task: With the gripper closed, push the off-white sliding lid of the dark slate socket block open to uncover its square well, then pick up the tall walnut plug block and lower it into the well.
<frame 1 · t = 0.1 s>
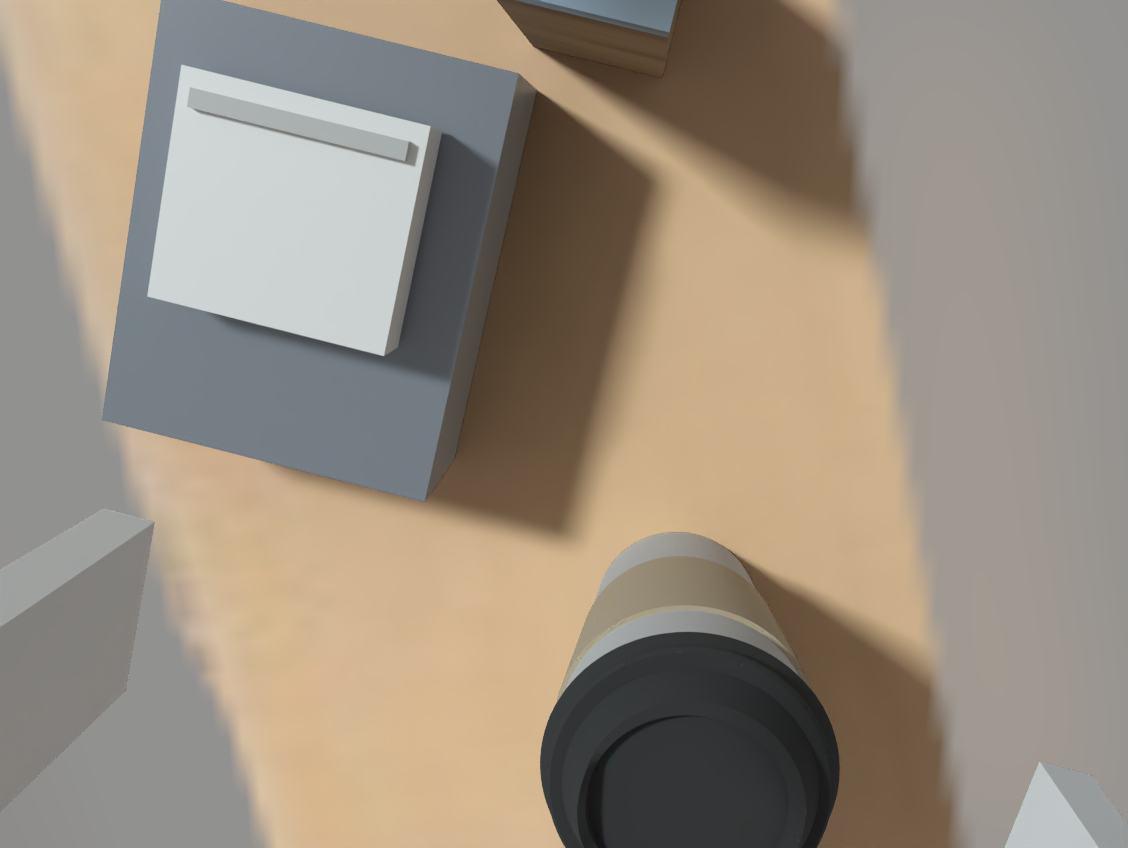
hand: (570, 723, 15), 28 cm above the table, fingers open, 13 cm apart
coffee cup: (676, 608, 45), on the table
socket block: (354, 208, 42), on the table
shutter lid: (293, 213, 34), point 7 cm above the table, slide at 0.0 cm
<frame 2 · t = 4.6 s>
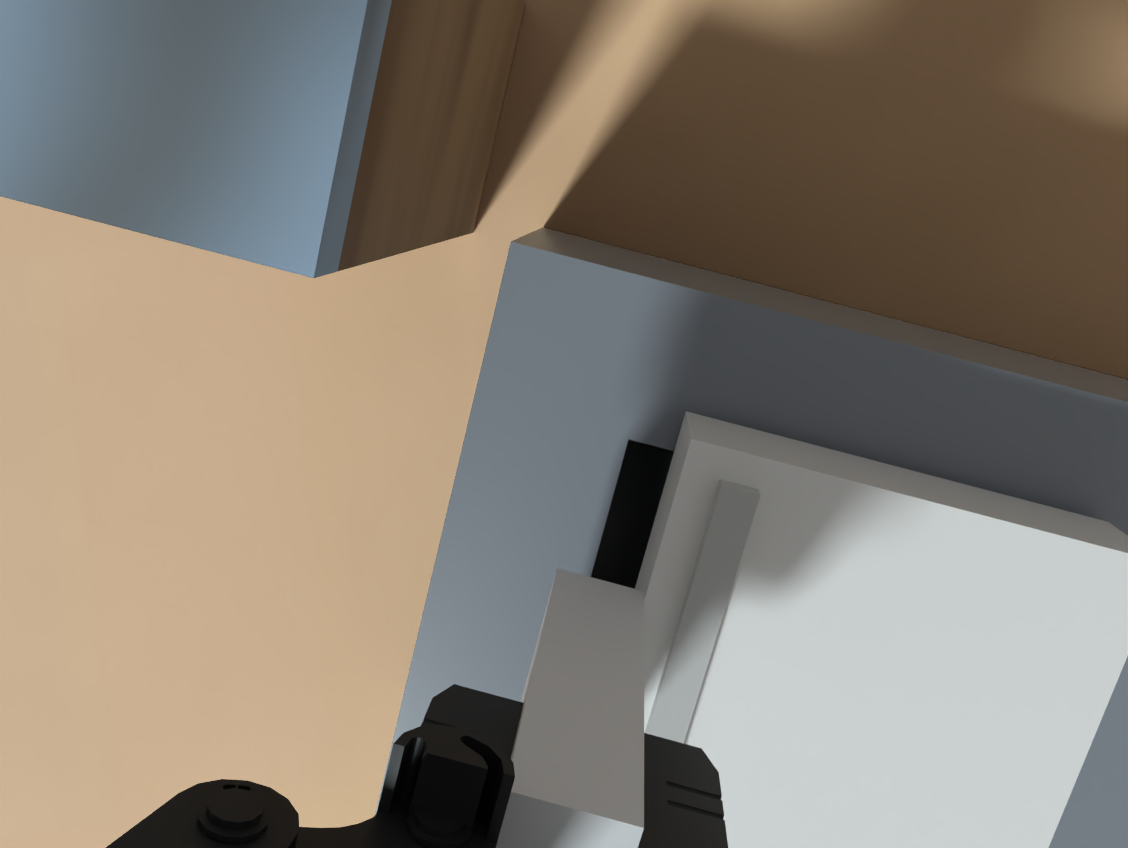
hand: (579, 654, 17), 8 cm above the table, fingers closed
plug: (389, 92, 23), on the table
socket block: (727, 540, 25), on the table
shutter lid: (837, 706, 18), point 7 cm above the table, slide at 1.3 cm, touching gripper
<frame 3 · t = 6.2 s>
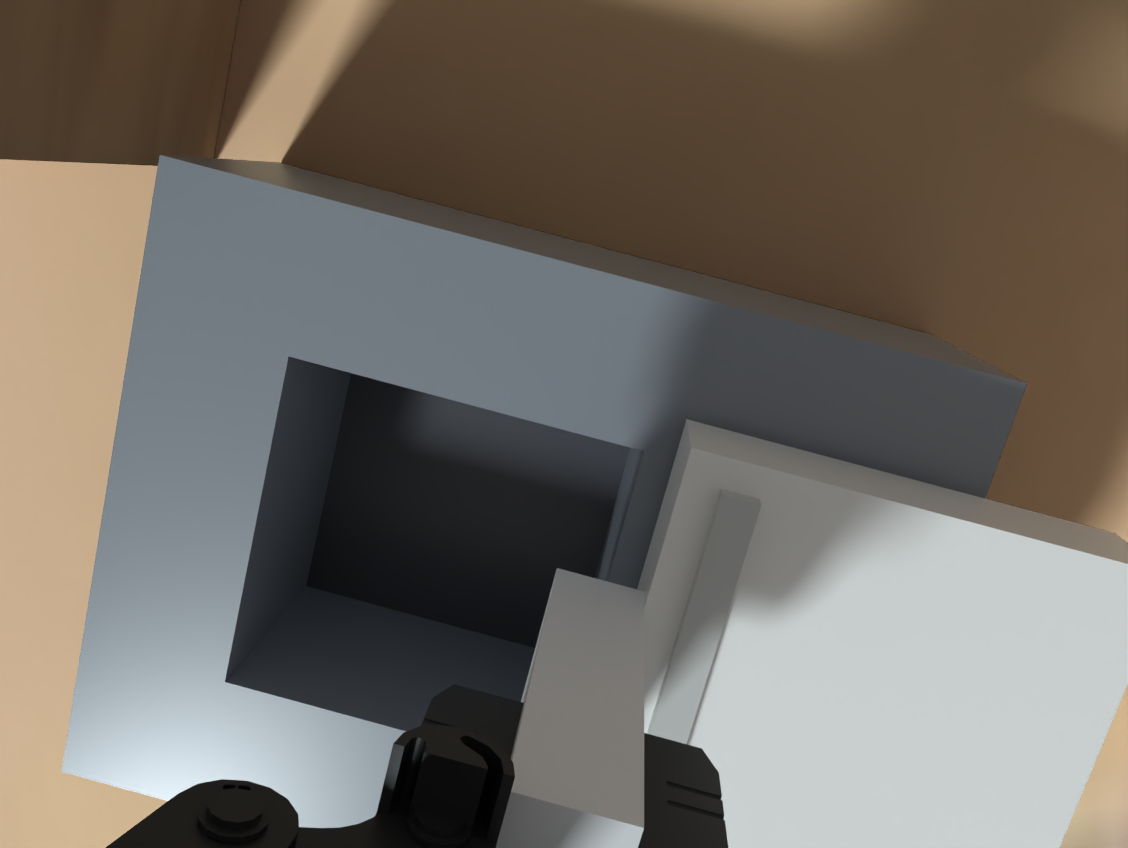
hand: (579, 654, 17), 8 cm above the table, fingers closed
plug: (122, 26, 23), on the table
socket block: (477, 481, 25), on the table
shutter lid: (838, 718, 18), point 7 cm above the table, slide at 7.4 cm, touching gripper
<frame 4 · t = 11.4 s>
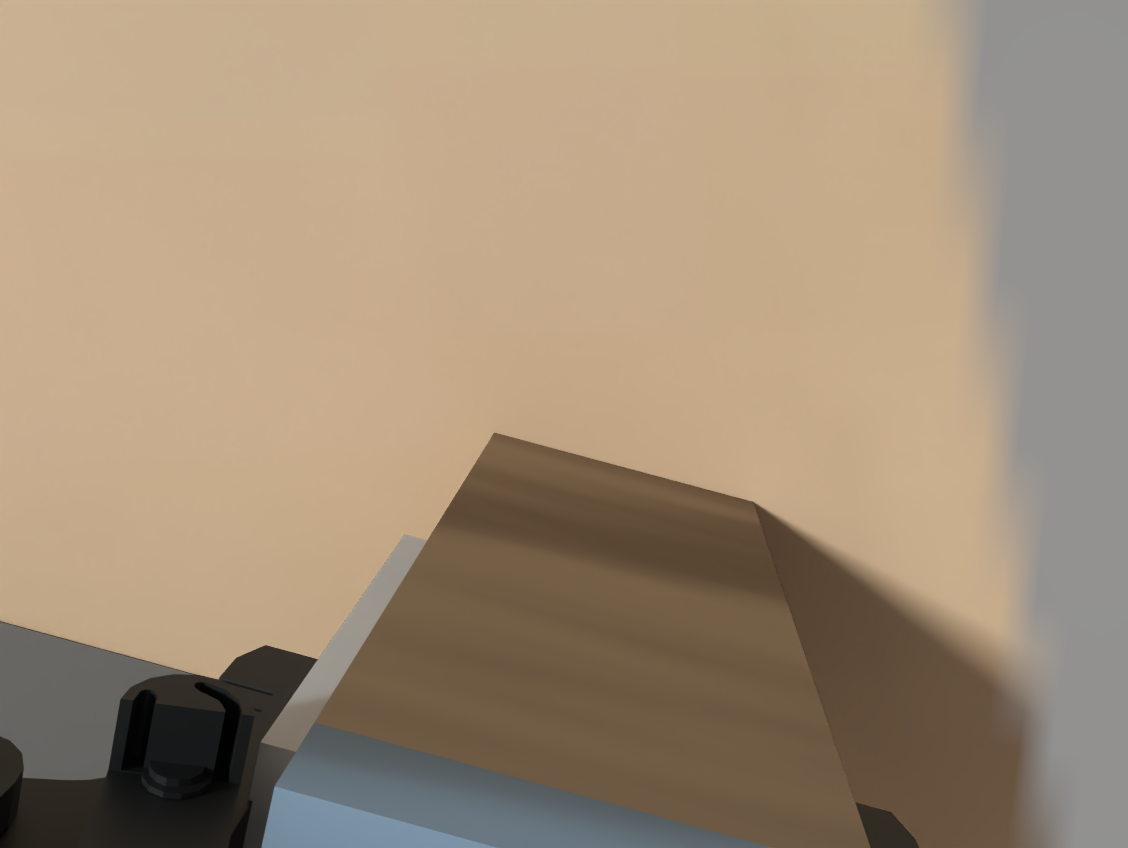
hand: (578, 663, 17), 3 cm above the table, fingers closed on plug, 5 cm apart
plug: (589, 588, 20), on the table, touching gripper
when the fingers open (7 cm above the table, at t = 15.5 s): plug drops 2 cm, resting on socket block.
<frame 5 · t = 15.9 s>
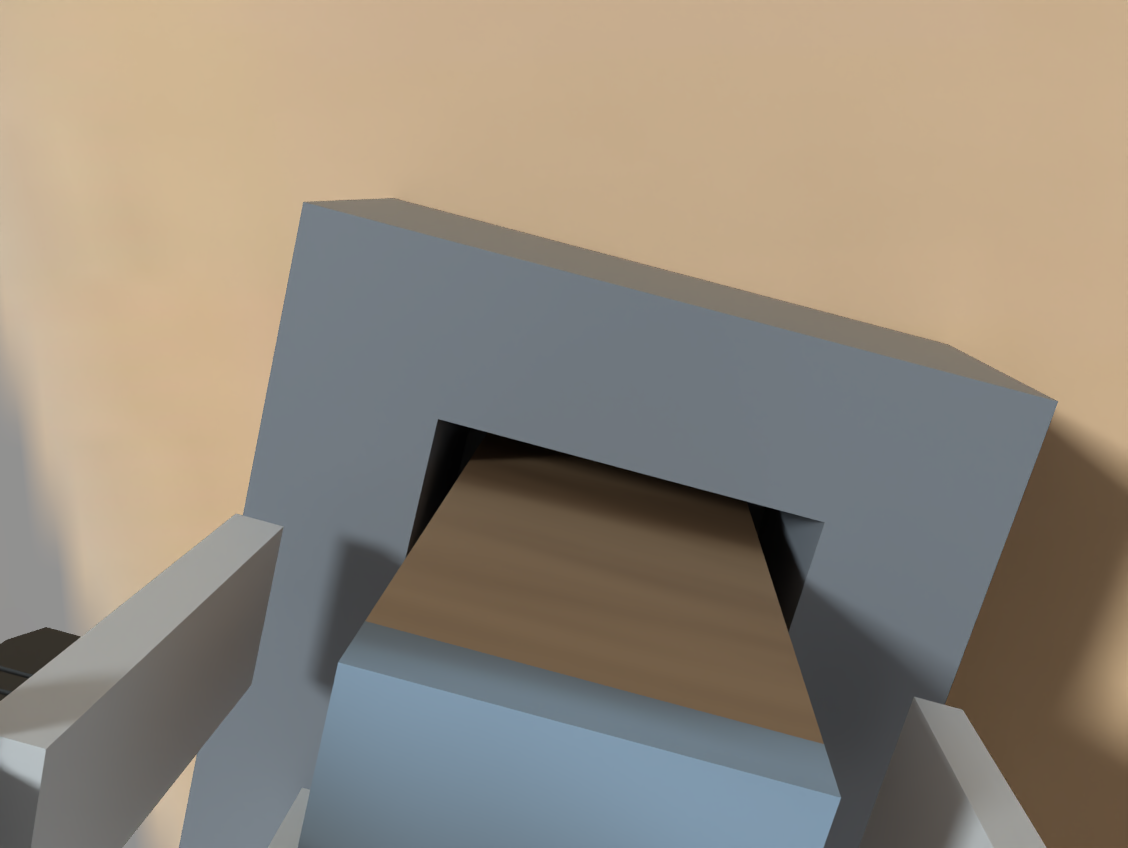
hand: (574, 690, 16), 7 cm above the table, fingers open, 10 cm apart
plug: (589, 550, 22), point 1 cm above the table, touching socket block
socket block: (596, 534, 23), on the table
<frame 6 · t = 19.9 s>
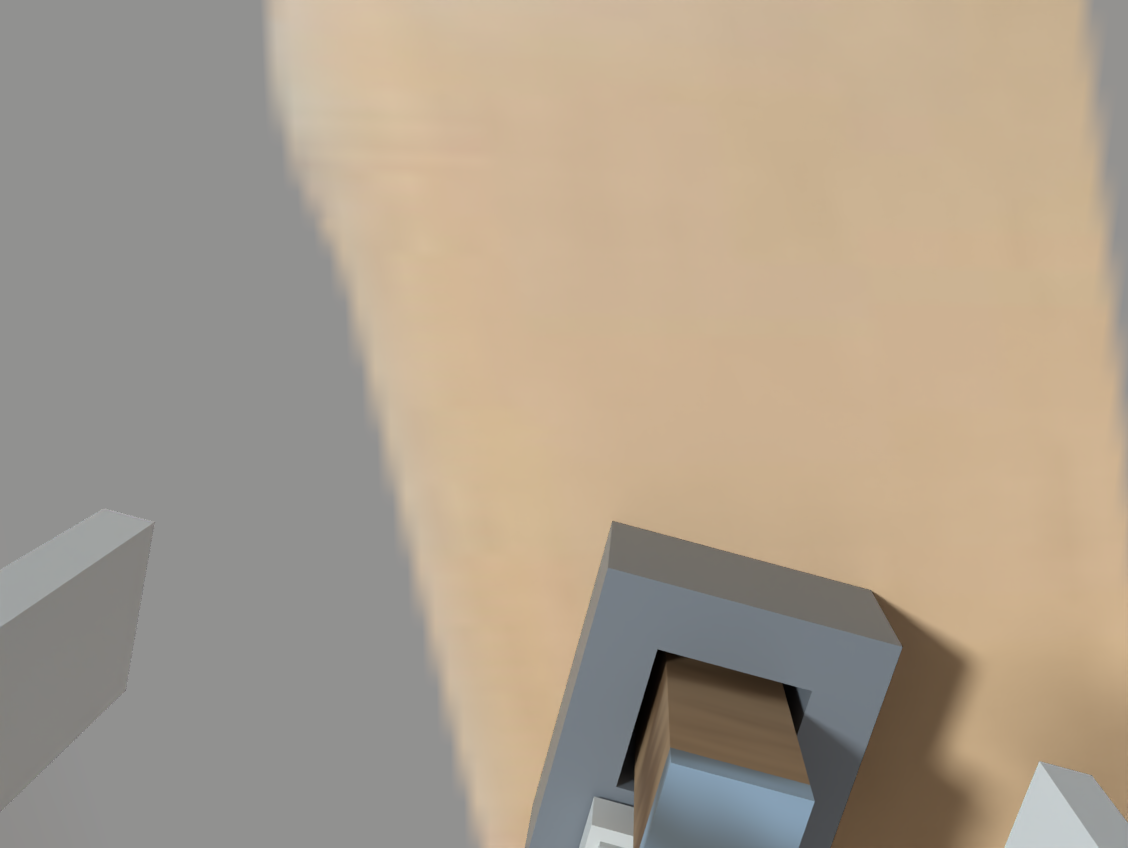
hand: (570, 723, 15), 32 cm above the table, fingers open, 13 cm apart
plug: (703, 684, 48), point 1 cm above the table, touching socket block
socket block: (704, 673, 49), on the table
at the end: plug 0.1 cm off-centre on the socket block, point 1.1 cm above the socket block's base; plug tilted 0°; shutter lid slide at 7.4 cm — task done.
